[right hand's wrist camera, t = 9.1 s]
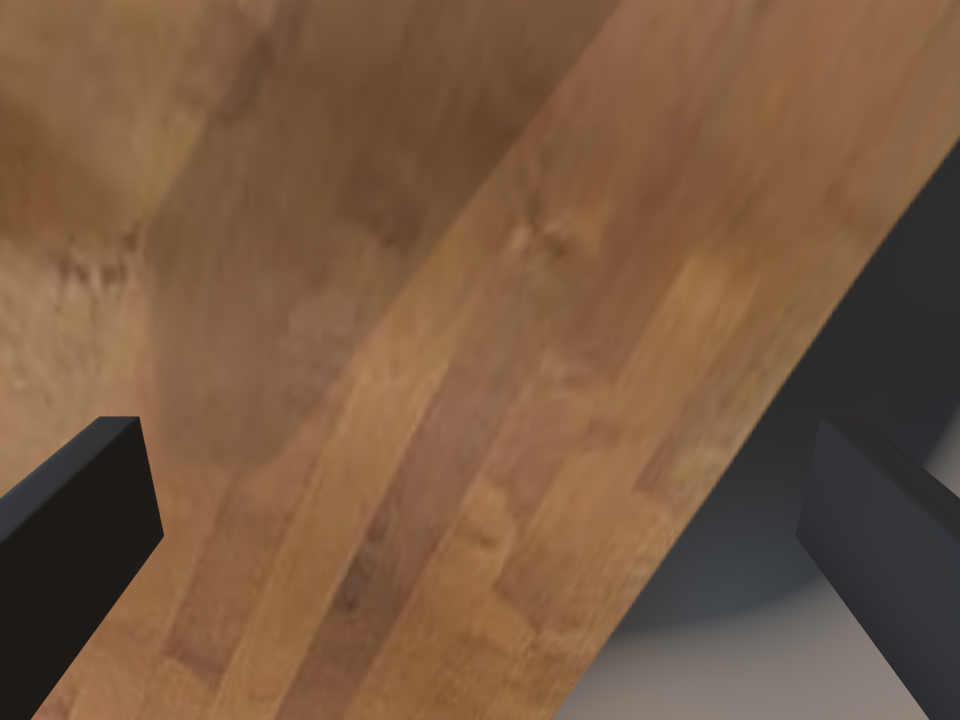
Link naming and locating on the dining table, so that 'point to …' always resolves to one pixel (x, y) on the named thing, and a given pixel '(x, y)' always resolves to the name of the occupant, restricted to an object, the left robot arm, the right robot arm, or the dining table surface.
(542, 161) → the dining table surface
